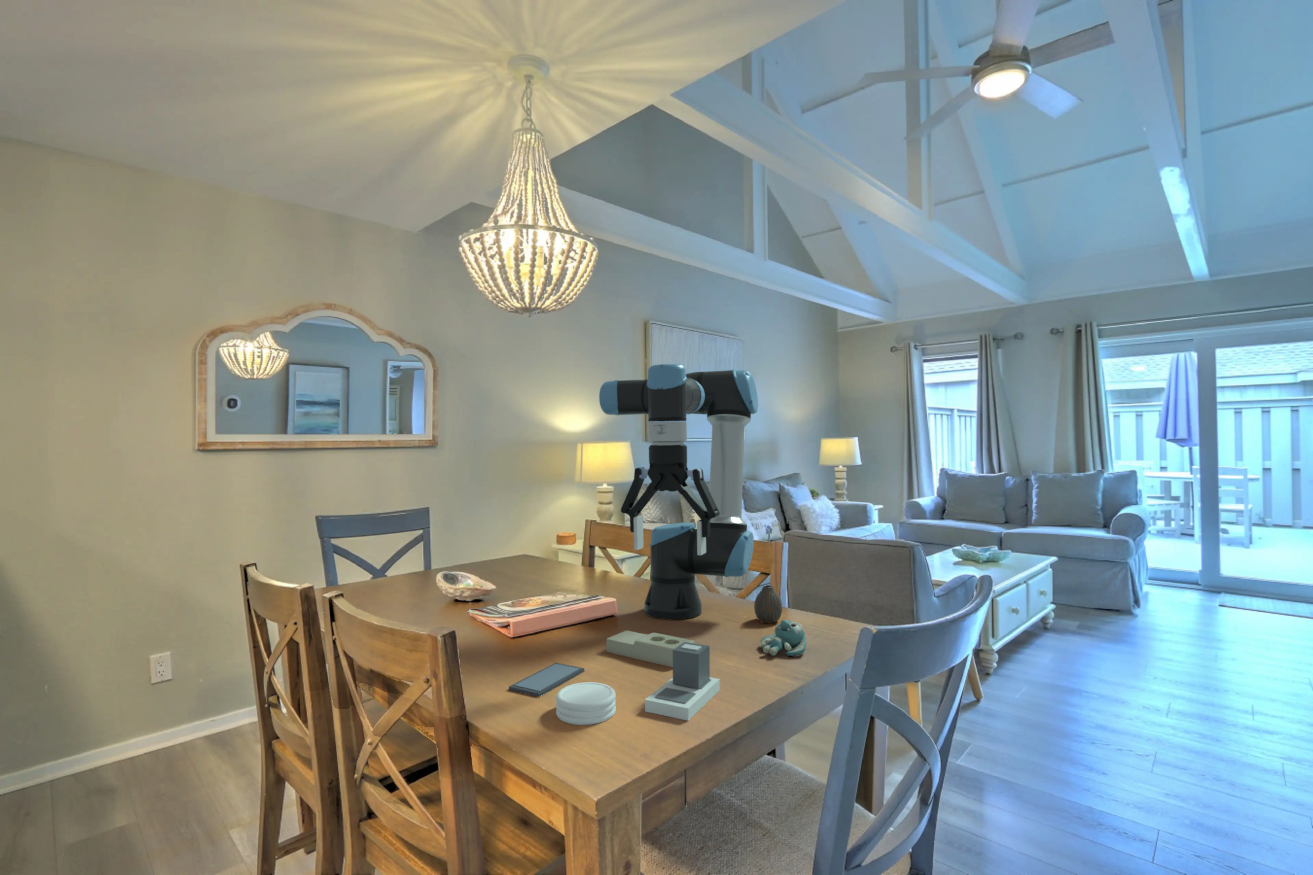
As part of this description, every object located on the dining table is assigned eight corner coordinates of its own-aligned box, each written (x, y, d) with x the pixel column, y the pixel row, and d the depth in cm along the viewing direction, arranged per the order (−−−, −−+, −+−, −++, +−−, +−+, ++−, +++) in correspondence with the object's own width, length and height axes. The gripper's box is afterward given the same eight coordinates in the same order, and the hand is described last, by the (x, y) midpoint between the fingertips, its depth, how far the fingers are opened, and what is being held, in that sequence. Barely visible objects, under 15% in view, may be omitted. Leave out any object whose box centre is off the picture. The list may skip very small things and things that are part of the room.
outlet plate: (680, 682, 118) (680, 670, 118) (720, 689, 115) (719, 677, 115) (644, 711, 106) (644, 698, 106) (688, 720, 102) (688, 707, 102)
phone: (555, 668, 128) (555, 661, 128) (584, 674, 124) (584, 667, 124) (508, 692, 115) (508, 685, 115) (539, 700, 112) (539, 692, 112)
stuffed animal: (744, 628, 135) (774, 606, 143) (748, 659, 136) (778, 636, 144) (788, 638, 127) (817, 615, 136) (792, 671, 128) (820, 646, 137)
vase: (754, 616, 162) (753, 582, 162) (781, 617, 161) (781, 583, 161) (754, 624, 155) (754, 588, 155) (783, 625, 154) (782, 589, 154)
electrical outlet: (626, 626, 142) (695, 639, 132) (626, 644, 142) (695, 659, 132) (606, 634, 136) (676, 649, 126) (606, 653, 136) (677, 669, 126)
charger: (684, 674, 117) (684, 640, 117) (709, 678, 114) (709, 644, 114) (672, 683, 112) (672, 648, 112) (698, 688, 110) (698, 652, 110)
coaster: (626, 716, 104) (626, 695, 104) (571, 732, 99) (571, 710, 99) (598, 696, 113) (598, 676, 113) (546, 709, 107) (546, 688, 107)
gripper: (603, 444, 126) (605, 550, 126) (721, 444, 115) (723, 560, 116) (621, 442, 133) (623, 543, 133) (734, 442, 122) (736, 552, 122)
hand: (669, 551), depth 124 cm, fingers open, 13 cm apart
